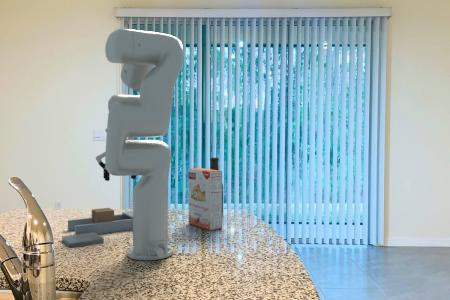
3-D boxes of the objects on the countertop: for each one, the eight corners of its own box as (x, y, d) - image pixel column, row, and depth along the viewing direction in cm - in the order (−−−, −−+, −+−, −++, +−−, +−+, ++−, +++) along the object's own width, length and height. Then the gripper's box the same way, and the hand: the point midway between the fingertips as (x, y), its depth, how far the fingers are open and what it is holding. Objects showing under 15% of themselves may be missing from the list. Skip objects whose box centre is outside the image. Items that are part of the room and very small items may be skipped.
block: (114, 230, 135) (114, 210, 135) (96, 232, 132) (96, 212, 132) (108, 226, 140) (108, 207, 140) (91, 229, 137) (91, 209, 136)
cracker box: (187, 224, 145) (187, 168, 144) (200, 221, 148) (200, 167, 148) (208, 231, 134) (208, 170, 133) (222, 228, 137) (222, 170, 137)
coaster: (103, 242, 119) (103, 238, 119) (69, 247, 113) (69, 243, 113) (94, 235, 127) (94, 231, 127) (62, 240, 122) (62, 236, 122)
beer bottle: (202, 214, 163) (202, 157, 162) (219, 212, 166) (219, 157, 166) (209, 217, 156) (209, 158, 155) (226, 216, 159) (227, 157, 159)
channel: (148, 227, 140) (147, 215, 140) (75, 237, 125) (75, 224, 125) (136, 221, 149) (136, 210, 149) (67, 230, 135) (67, 218, 134)
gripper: (99, 131, 130) (99, 182, 131) (147, 132, 140) (147, 179, 141) (92, 131, 136) (93, 179, 137) (139, 132, 146) (139, 177, 147)
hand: (120, 179), depth 139 cm, fingers open, 9 cm apart
